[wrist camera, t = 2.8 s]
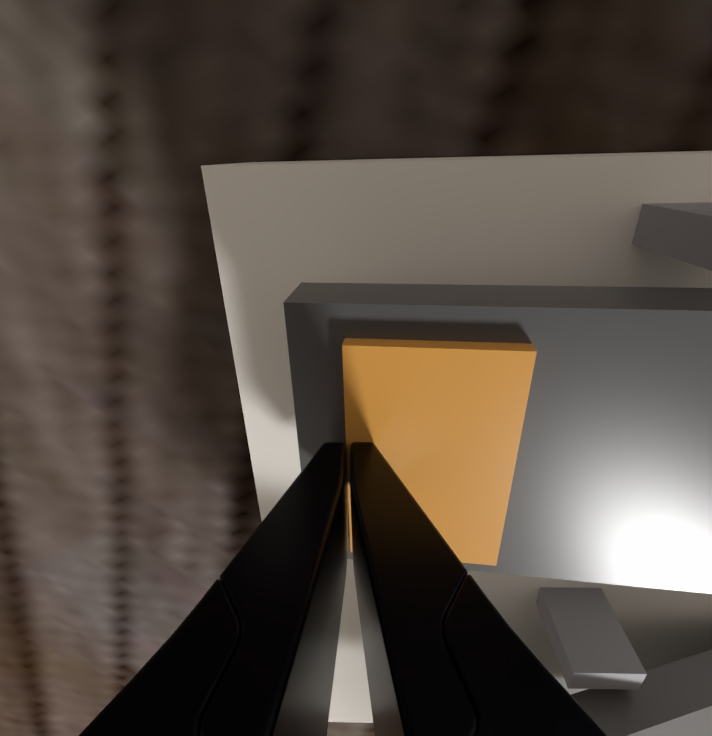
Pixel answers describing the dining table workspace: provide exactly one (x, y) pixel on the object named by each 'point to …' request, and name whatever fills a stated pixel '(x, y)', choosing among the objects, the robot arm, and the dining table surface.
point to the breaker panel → (464, 267)
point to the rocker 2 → (657, 702)
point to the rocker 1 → (524, 418)
